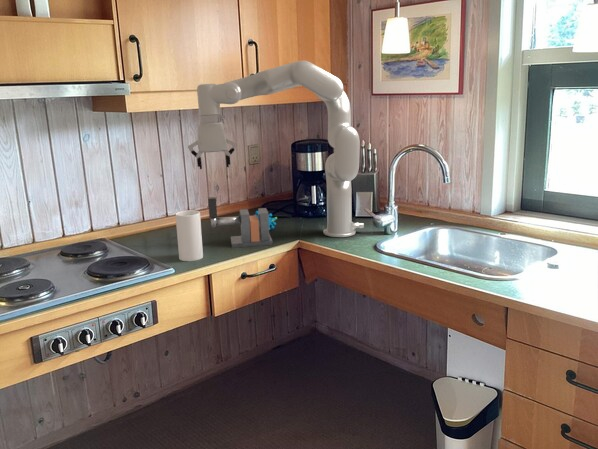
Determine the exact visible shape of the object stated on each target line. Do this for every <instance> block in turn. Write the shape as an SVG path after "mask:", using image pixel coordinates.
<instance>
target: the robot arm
mask: <svg viewBox="0 0 598 449" xmlns="http://www.w3.org/2000/svg"><path fill="white" fill-rule="evenodd" d="M301 86H302V87H303V88H306V90H308V91H311V92H313V93H314V95H315V96H316V97H317V98H318V99H320V100H322V101H323V103H324V104H325V106H326V108H327V109H326V110H327V142H328V144H329V146H330V147H331V148H334V150H333V152H334V153H332V154H330V155H329V156H328V157H327V158H326V161H325V165H324V171H325V172H324V174H325V180H326V219H327V220H326V224H327V226H326V228H324V229H323V235H325V236H328V237H331V238H347V237H351V236H355V234H356V229H364V228H365V224H364V222H353V221H352V209H353V208H352V205H353V204H352V202H353V201H352V194H353V192H352V191H353V189H352V181H353V180H354V179H355V178H356V177H358V173H359V171H360V158H361V157H360V152H361V149H360V148H361V147H360V146H361V144H360V143H361V142H360V135H359V133H358V131H357V129H356V128H355V127H353V126H352V115H351V114H352V113H351V112H352V111H351V110H352V109H351V104H350V99H349V98H348V95H347V93H346V92H345V91H344V84H343V82H342V80H341V79H340V78H338V76H335V75H333V74H332V73H330V72H328V71H327V70H324V69H323V68H321V67H320V66H318V65H316V64H314V63H312V62H310V61H308V60H297V61H293V62H290V63H286V64H283V65H279V66H276V67H273V68H269V69H264V70H262V71H259V72H257V73H255V74H251V75H248V76H245V77H241V78H237V79H233V80H231V81H226V82H223V83H217V84H216V83H201V84H199V85H197V88H196V92H197V94H196V96H197V104H198V116H199V117H198V119H199V123H198V124H197V140H195V141H193V142H192V143H191V144H189V145H188V146H187V148H188V151H190V154H192V155H193V156H194V157H195V158H196V161H197V162H196V163H197V167H199V170H202V169H203V167H202V157H201V156H202V154H203V153H217V152H218V153H220V152H223V153H224V154H225V164H226V166H225V167H226V168H229V167H230V165H231V155H232V154H233V153H234V152H235V149H236V147H237V145H238V144H237V142H235V141H233V140H230V139H228V138H227V136H226V130H225V129H226V128H225V124H224V122H222V121H223V120H226V115H222V114H221V104H222V105H223V104H224V105H235V104H237V103H238V102H239V101H242V100H245V99H249V98H255V97H259V96H268V95H273V94H277V93H279V92H283V91H287V90H291V89H294V88H297V87H301ZM227 144H229V145H230V146H231V147H230V149H229V150H228V149H227V148H228V147H227V146H228V145H227ZM196 146H197V148H198V152H196V151H195V150H194V147H196Z"/></svg>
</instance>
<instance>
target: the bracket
mask: <svg viewBox="0 0 598 449" xmlns="http://www.w3.org/2000/svg"><path fill="white" fill-rule="evenodd" d="M257 209H258V210H257V211H258V215H257V216H259V241H255V242H251V238H250V218H249V216H250V212H249V209H247V208H245V209H239V216H241V224H240V235H233V236H230V244H231V248H232V249H236V248H248V247H263V246H273V242H274V241H273V239H272V237H271V234H270V231H269V214H270V213H269V211H268V209H267V207H260V208H257Z"/></svg>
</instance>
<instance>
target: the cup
mask: <svg viewBox="0 0 598 449" xmlns="http://www.w3.org/2000/svg"><path fill="white" fill-rule="evenodd" d="M201 221H202V220H201V212H200V211H199V210H197V209H196V210H195V209H191V210H190V209H188V210H181V211H178V212H176V213H175V226H176V235H177V250H178V258H179V260H180V261H183V262H195V261H199V260H201V259H203V258H204V252H203V251H204V250H203V238H202V223H201Z"/></svg>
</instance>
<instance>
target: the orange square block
mask: <svg viewBox="0 0 598 449" xmlns="http://www.w3.org/2000/svg"><path fill="white" fill-rule="evenodd" d="M257 216H258V215H257V214H256V215H255V214H253V215H249V218H250V238H251V242H255V241H259V221H258V218H257Z"/></svg>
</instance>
